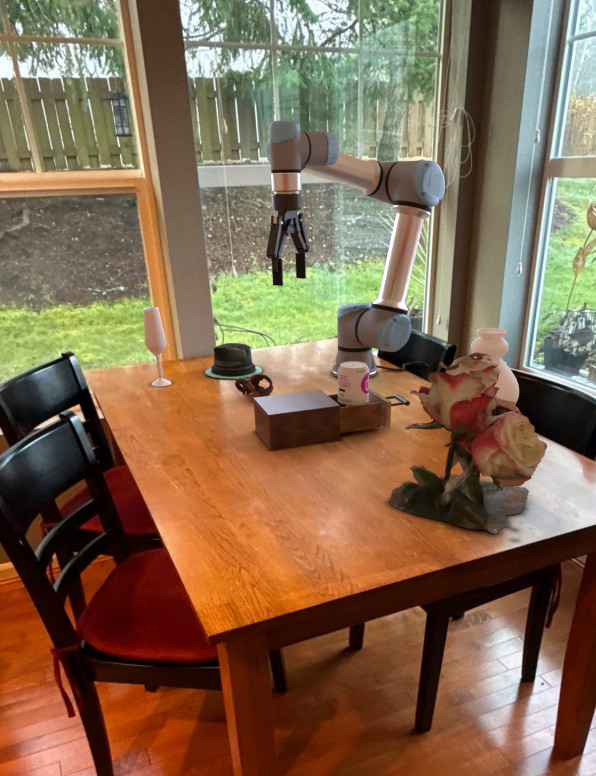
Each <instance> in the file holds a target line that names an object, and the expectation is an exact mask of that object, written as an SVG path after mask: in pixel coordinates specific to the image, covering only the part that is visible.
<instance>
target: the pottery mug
mask: <svg viewBox="0 0 596 776" xmlns="http://www.w3.org/2000/svg"><path fill="white" fill-rule="evenodd" d="M263 380H265V381H266V382H267V383H269V384H268V386H267V387H264V386H261V385H260V382H262V381H263ZM234 386H235V388H236V389H237V390H238V391H239V392H240V393H241V394H242V395H243V396H249V395H250V394H253V396H252V401H253V402H254V400H253V398H256V397H265V396H271V394H272V393H273V391H274V389H275V388H274V385H273V381H272V379H271V378H270V377H269V376H268V375H266V374H263V373H260V374H253V375H252V376H250V377H248V379H247V378H244V379H243V378H239V379H235V382H234Z"/></svg>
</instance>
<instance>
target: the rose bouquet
mask: <svg viewBox="0 0 596 776" xmlns="http://www.w3.org/2000/svg"><path fill="white" fill-rule="evenodd" d="M475 357H477V358H475ZM438 365H439V367H440V368H441V369H442V368H444V369H445V371H444V372H442V371H435V372H430V373H429V374H428V376H427V377H428V378H427V379H428V381H430V383H431V385H430V386H429V387H427V386H424V385H420V386H419V390H418V391H417V390H416V389H413V390H412V389H410V391H409V393H410V394H409V395H415V396H417V398H418V399H419V400H420V404H421V405H422V409H423V411H424V412H425V413H426V414H427V415H428V416H429V418H430V419H431V420H432V421H429V422H415V423H412V424H409V425H407V426H406V427H404V429H405V430H412V429H413V430H425V431H426V430H427V431H429V430H438V429H445V431H447V432H450V435H449V439H450V440H449V441H450V442H447V443H444V448H448V451H447V455H446V459H445V468H444V476H443V477H439V476H437V475H438V474H437V473H436V472H433V471H431V470H429V469H427V468H426V467H425V466H423V465H418V464H413V465H411V466H410V467H409V469H410V470H411V472H412V478H413V479H414V480H415V482H413V481H411V480H406V481H404V482H403V483H402V484H401V485H400V486H399V487H395V488H394V489H392V490H391V495H390V498H389V500H388V503H389V504H390V505H392V507H393V508H395V509H398V510H399V511H403V512H405V513H409V514H411V515H414V516H417V517H422V518H426V519H431V520H434V521H444V522H447V523H450V524H453V525H455V526H458V527H461V528H465V529H469V530H475V531H477V530H485V531H487V532H488V533H491V534H494V535H495V534H498V533H500V530H501V529H502V528H504V527H505V528H508V529H511V530H515V531H516V529H514V528H512V527H510V526H509V523H508V521H507V516H511V515H517V514H521V513H522V512H523V510H524V508H526V505H527V502H528V496H529V493H530V490H529V489H528V488H526V487H524V486H523V485H524V484H525V482H528V481H529V480H531V479H532V476H533V475H534V473H535V472H536V470H537V468H538V466H539V464H540V463H541V462H542V459H543V458H544V457H545V454H546V450H547V449H548V444H547V443H546V442H545V441H542V440H541V439H539V436H538V435H539V434H538V433H536V432H535V430H536V428H535V426H534V425H533V424H532V423H531V422H530V420H529V417H527V416H526V415H523V413H522V412H521V411H520V409H519V407H518V406H516V404H515V402H512V401H508V400H504V399H500V398H498V397H497V396H496V394H497V391H498V390H499V388H498V387H494V386H495V385H496V383H497V381H498V376H499V374H500V369H499V368H496V367H498V366H499V365H498V364H495V363H493V361H492V360H491V356H489V355H488V354H484V353H483V354H482V353H480V352H475V353H473V352H472V353H470V354H467V355H465V356H460V357H458V358H456V359H454V360H453V361H452V363H451V364H450V365H449V366H448V365H446V364H444V361H441V362H438ZM458 463H459V465H460V467H461V469H462V472H461V474H460V475H459V476H453V475H452V473H451V472H452V469H453V468H454V467H455V466H456V465H457V464H458ZM481 476H483V477H487V478H488V477H490V478H491V480H492V482H489V481H481ZM484 480H485V479H484ZM521 486H523V487H521Z"/></svg>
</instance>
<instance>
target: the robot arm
mask: <svg viewBox="0 0 596 776" xmlns="http://www.w3.org/2000/svg"><path fill="white" fill-rule="evenodd" d="M268 134H269V138H268V140H267V141H266V145H265V156H266V159H267V162H268V163H269V164H270V173H271V178H270V182H271V191H272V193H273V192H274V193H273V194H272V195H271V201H272V202H271V203H272V209H273V211H275V212H276V211H277V215H274V214H273V215H271V216H270V227H269V234H268V241H267V245H266V252H265V256H266V257H267V259H270V260H271V275H272V286H278V287H283V286H284V268H283V258H281V256H282V252H283V249H284V246H285V243H286V240H287V237H288V236H289V235H290V238H291V240H292V243H293V245H294V248H295V250H296V252H295V278H296V279H302V280H305V279H307V264H306V263H307V261H306V258H307V257H306V253H307V254H308V253H310V243H309V238H308V234H307V230H306V226H305V218H304V213H303V212H298V211H301V210H302V209H303V199H302V198H303V197H302V194H301V193H300V192H301V191H302V190H303V189H302V188H303V187H302V173H305V174H307V175H311V176H315V177H318V178H320V179H323V180H328V181H330V182H334V183H337V184H340V185H343V186H347V187H350V188H353V189H357V190H358V191H359V193H360V194H361V195H363V196H366V197H369V198H372V199H375V200H378V201H379V202H380V201H381V202H383V203H385V204H389V205H392V210H393V212H394V213H395V218H394V223H393V227H392V232H391V236H390V241H389V245H388V249H387V254H386V258H385V259H386V260H385V263H384V268H383V272H382V278H381V282H380V285H379V291H378V297H377V298H376V299H375V300H373V301H372V302H367V301H366V302H355V303H348V304H347V303H346V304H342V305H340V306H339V307H338V310H337V317H336V321H337V322H336V323H337V352H336V355H335V359H333V361H332V364H333V365H332V375H333V377H336V378H338V369H339V367H340V364H341V363H343V362H348V361H359V362H364V363H366V364H367V366H368V368H369V379H370V378H373V377H375V376H376V375H377V374H378V373H377V372H378V371H377V369H383V370H387V371H394V372H395V371H396V372H403V371H405V370H406V367H407V366H413V365H423V366H425V367H426V368H430V365H428V364H427V363H426V364H422V362H423V361H418V360H417V361H411V362H410V361H409V362H407V363H403V364H402V365H401V368H395V367H388V366H383V365H377V364H376V359H375V356H374V353H373V349H375V350H379V351H381V352H389V353H395V352H398V351H399V350H401V349H402V348H403V347H405V345H406V344H407V343H408V341H409V339H410V337H411V334H412V327H413V326H412V324H411V323H412V322H411V319H410V318H409V317H408V312H409V309H408V307H407V305H406V300H407V295H408V291H409V286H410V282H411V278H412V274H413V269H414V265H415V262H416V261H415V260H416V258H417V257H416V256H417V253H418V247H419V243H420V239H421V235H422V230H423V225H424V221H425V220H426V219H428V218H429V217H430V216H431V214H432V210H433V207H435V206H437V205H439V203H440V202H441V201H442V199H443V198H444V195H445V190H446V189H445V187H446V181H445V175H444V174H443V170H442V168H441V167H440V165H439V164H438V163H437V162H435V161H433V160H425V159H418V160H395V161H379V160H375V159H366V160H364V159H361V158H359V157H354V156H352V155H350V154H347V153H344V152H341V151H340V141H339V138H338V136H337V135H336V134H335V133H333V132H330V131H326V130H323V131H318V130H317V131H315V130H314V131H311V130H309V131H307V130H305V131H304V130H301V124H300V122H299V121H298V120H294V119H293V120H292V119H283V120H282V119H279V120H273V121H272V122H271V123H270V124H269V132H268Z"/></svg>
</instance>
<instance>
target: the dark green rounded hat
mask: <svg viewBox="0 0 596 776" xmlns="http://www.w3.org/2000/svg"><path fill="white" fill-rule="evenodd" d="M262 372H263V368H262V367H260V366H258V365H256V364H254V362H253V357H252V347H251V346H250V345H248V344H246V343H241V342H227V343H222V344H219V345H216V346H214V347H213V364H212V366H211V367H208V368H207V369H206V370H205V371H204V373H205V375H207V376H209V377H212V378H218V379H219V378H220V379H231V380H232V379H233V380H237V379H239V378H243V379H247V378H250V376H252V375H253V374H262Z"/></svg>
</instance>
